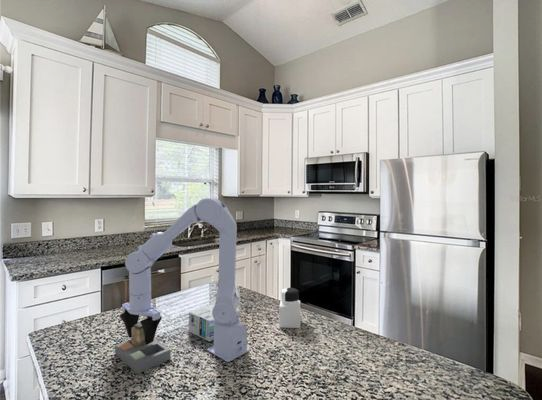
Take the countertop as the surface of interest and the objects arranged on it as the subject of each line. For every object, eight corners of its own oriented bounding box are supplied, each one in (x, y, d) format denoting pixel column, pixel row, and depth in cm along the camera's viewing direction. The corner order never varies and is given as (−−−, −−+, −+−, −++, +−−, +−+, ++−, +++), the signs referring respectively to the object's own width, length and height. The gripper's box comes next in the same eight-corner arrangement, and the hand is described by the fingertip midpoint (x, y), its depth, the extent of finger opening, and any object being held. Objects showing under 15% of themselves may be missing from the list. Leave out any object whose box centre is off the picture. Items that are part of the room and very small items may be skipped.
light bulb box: (188, 332, 96) (208, 343, 89) (188, 311, 96) (209, 320, 89) (213, 321, 104) (234, 330, 97) (214, 302, 104) (235, 310, 97)
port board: (170, 358, 80) (170, 348, 80) (137, 373, 73) (137, 362, 73) (146, 342, 89) (146, 332, 89) (115, 354, 83) (115, 343, 83)
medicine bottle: (300, 319, 105) (300, 286, 105) (300, 328, 98) (300, 292, 98) (280, 319, 106) (280, 285, 106) (279, 327, 99) (278, 292, 99)
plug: (149, 347, 85) (149, 323, 85) (139, 353, 82) (139, 327, 82) (142, 345, 87) (142, 320, 87) (131, 350, 84) (131, 325, 84)
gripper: (169, 292, 84) (169, 339, 84) (136, 285, 91) (137, 328, 92) (147, 300, 78) (148, 350, 78) (115, 291, 85) (115, 337, 86)
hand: (140, 339), depth 85 cm, fingers open, 7 cm apart
